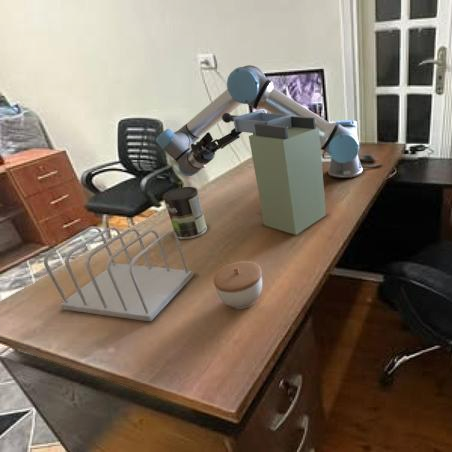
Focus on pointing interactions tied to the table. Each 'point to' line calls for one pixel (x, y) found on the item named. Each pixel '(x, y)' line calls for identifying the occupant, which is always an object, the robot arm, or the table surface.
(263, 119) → the grey drawer
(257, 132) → the stand
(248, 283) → the trinket box
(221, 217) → the table surface
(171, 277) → the file sorter
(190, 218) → the coffee can
